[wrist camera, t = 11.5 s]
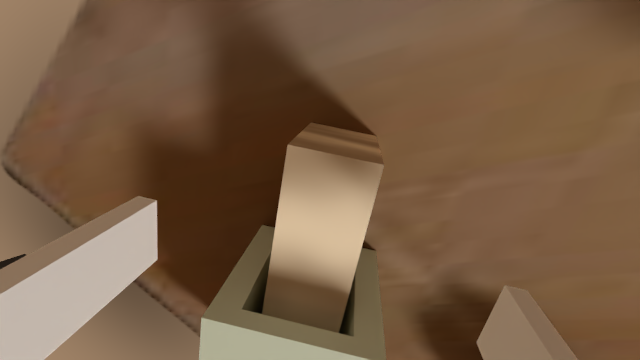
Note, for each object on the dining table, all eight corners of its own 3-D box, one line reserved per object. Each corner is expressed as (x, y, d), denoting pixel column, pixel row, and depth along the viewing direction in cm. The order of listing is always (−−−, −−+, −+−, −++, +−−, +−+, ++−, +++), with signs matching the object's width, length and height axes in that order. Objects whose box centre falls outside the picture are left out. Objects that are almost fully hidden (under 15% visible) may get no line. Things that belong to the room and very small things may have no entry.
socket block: (262, 224, 26) (201, 317, 16) (376, 250, 26) (386, 364, 16) (250, 313, 30) (194, 435, 20) (350, 338, 29) (345, 477, 19)
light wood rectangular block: (311, 122, 23) (287, 144, 15) (376, 135, 23) (384, 164, 15) (282, 290, 28) (254, 366, 21) (334, 302, 28) (324, 385, 21)
